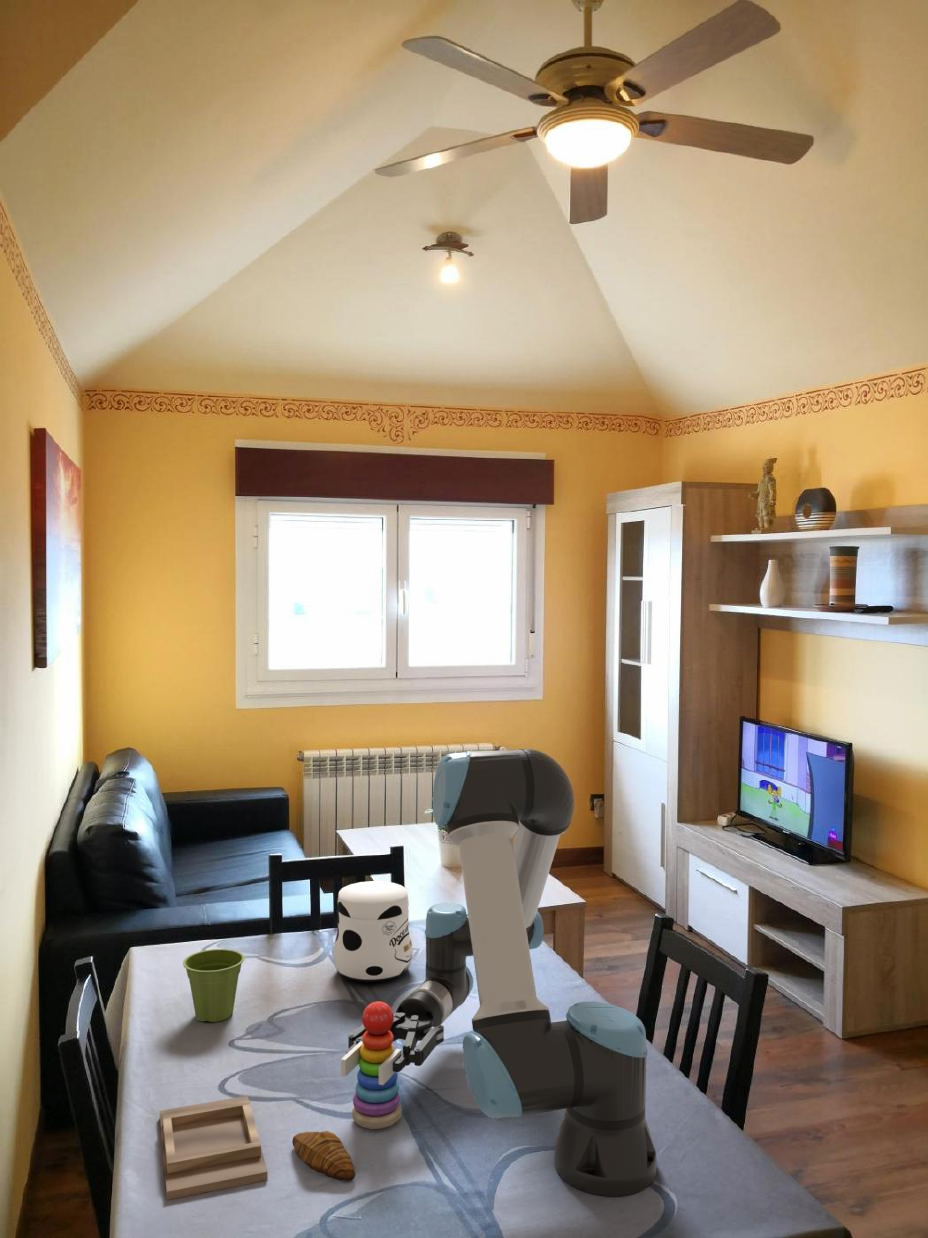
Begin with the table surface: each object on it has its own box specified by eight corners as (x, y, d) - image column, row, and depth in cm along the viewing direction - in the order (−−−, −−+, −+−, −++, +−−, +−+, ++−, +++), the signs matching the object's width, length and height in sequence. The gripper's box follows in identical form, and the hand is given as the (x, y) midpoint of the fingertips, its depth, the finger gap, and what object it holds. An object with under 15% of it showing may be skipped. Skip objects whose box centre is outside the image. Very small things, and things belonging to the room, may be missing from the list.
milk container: (423, 981, 213) (423, 899, 212) (344, 994, 207) (344, 909, 206) (398, 952, 229) (398, 876, 228) (325, 963, 223) (324, 884, 222)
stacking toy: (394, 1134, 155) (393, 1017, 154) (345, 1129, 156) (344, 1012, 156) (407, 1107, 163) (406, 995, 162) (360, 1102, 164) (359, 991, 163)
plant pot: (257, 1010, 199) (257, 955, 198) (214, 1034, 189) (214, 976, 188) (214, 997, 205) (213, 944, 204) (170, 1019, 195) (169, 963, 194)
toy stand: (267, 1180, 144) (267, 1162, 144) (167, 1200, 139) (166, 1181, 139) (247, 1102, 164) (247, 1087, 164) (159, 1118, 160) (159, 1102, 160)
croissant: (276, 1156, 150) (276, 1124, 150) (312, 1138, 155) (312, 1107, 154) (333, 1195, 141) (333, 1161, 140) (369, 1174, 146) (369, 1141, 145)
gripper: (473, 1042, 172) (416, 1108, 151) (376, 1022, 179) (309, 1083, 158) (473, 999, 172) (416, 1060, 150) (376, 982, 179) (309, 1037, 158)
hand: (361, 1072), depth 154 cm, fingers closed on stacking toy, 6 cm apart
